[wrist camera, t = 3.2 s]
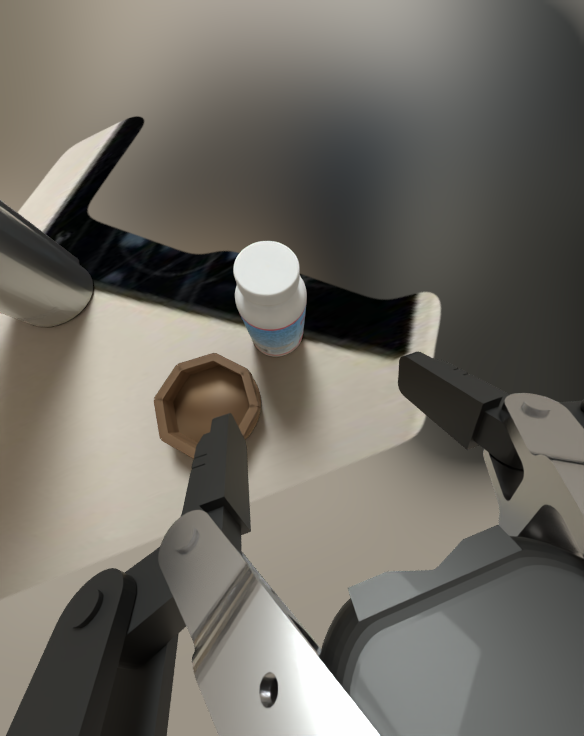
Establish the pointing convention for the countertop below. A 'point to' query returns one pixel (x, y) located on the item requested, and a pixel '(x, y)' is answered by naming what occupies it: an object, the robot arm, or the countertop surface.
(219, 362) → the bowl
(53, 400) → the countertop surface
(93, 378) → the countertop surface
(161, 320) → the countertop surface
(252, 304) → the pill bottle
